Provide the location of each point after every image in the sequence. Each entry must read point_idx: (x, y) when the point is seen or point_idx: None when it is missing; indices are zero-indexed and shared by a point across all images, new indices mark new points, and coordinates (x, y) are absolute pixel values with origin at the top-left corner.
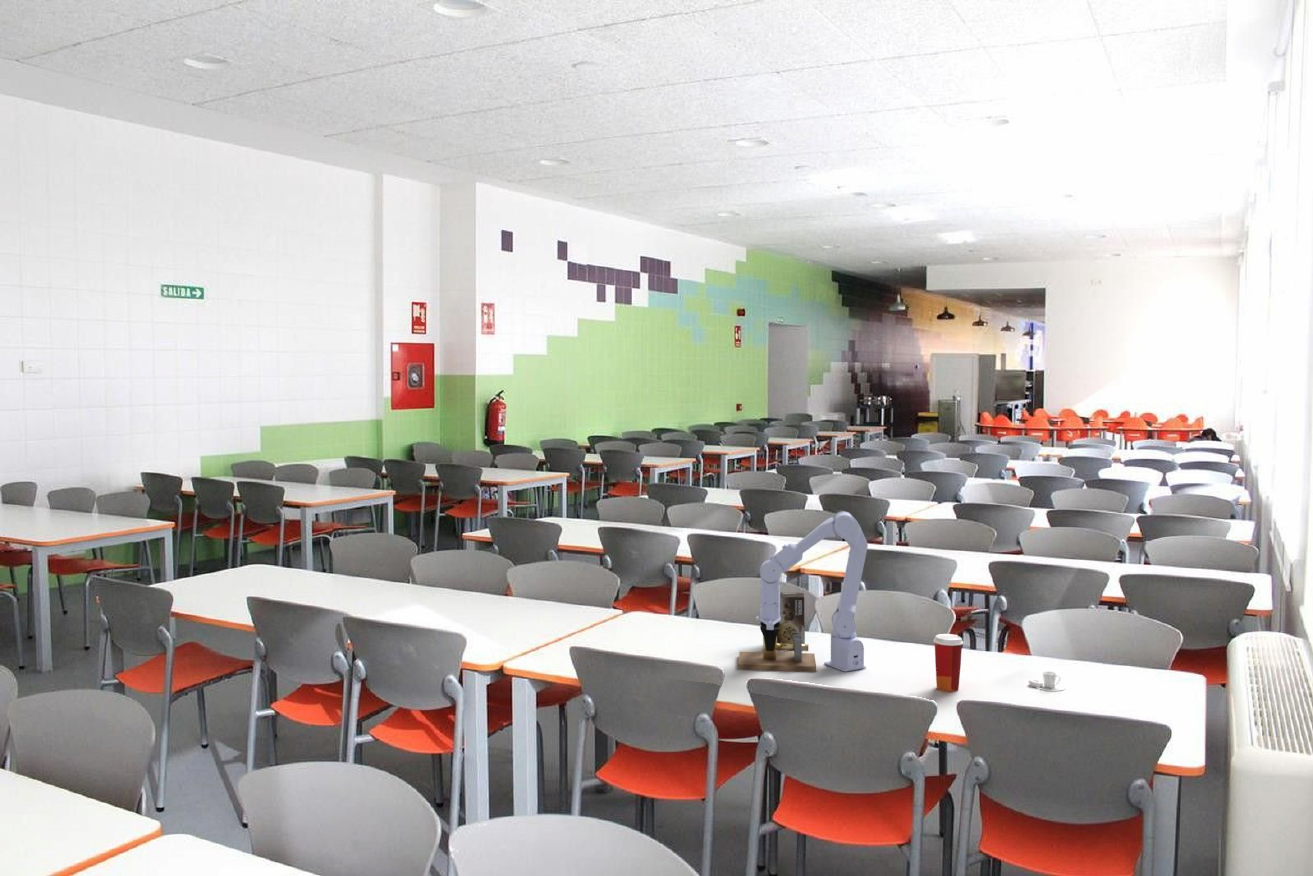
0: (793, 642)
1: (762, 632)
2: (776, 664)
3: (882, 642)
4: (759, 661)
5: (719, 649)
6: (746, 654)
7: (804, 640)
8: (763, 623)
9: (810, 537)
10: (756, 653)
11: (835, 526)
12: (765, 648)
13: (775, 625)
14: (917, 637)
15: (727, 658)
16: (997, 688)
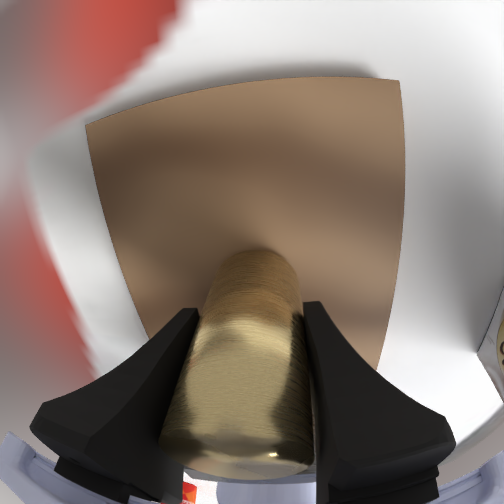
0: (498, 339)
1: (61, 400)
2: (153, 318)
3: (456, 439)
4: (175, 233)
5: (475, 11)
6: (333, 127)
7: (487, 372)
8: (342, 480)
9: None
10: (370, 195)
11: None
12: (205, 308)
13: (318, 495)
14: (460, 452)
15: (327, 17)
16: (209, 498)
